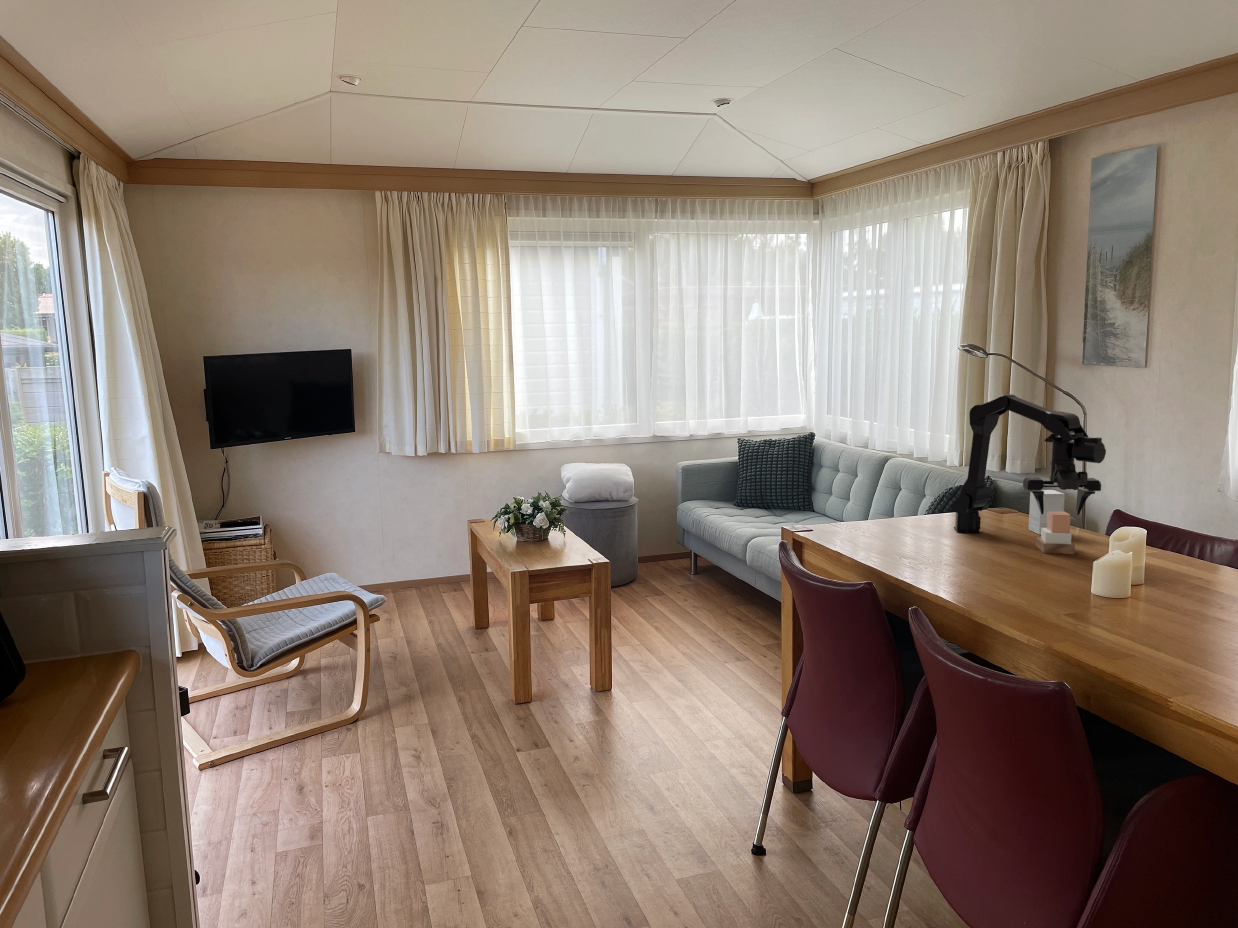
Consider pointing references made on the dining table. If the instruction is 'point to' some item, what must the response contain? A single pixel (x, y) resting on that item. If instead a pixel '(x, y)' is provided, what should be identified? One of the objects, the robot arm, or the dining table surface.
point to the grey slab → (1055, 537)
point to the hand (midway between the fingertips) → (1059, 514)
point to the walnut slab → (1055, 547)
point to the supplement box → (1051, 504)
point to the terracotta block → (1058, 522)
